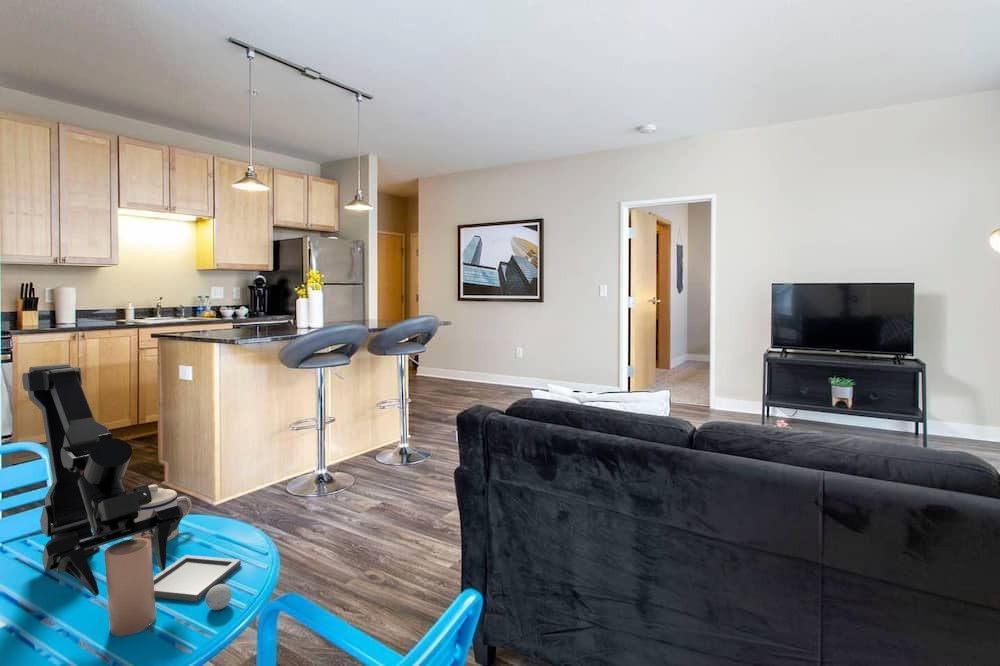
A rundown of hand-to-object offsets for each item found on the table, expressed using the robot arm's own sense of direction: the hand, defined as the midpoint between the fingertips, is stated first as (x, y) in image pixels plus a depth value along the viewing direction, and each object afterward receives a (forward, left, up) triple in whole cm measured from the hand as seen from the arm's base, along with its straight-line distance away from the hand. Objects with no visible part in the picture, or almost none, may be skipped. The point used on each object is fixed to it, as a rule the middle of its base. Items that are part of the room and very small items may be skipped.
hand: (131, 581), depth 86 cm
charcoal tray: (-1, +13, -7) cm, 15 cm away
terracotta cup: (-1, 0, -7) cm, 7 cm away
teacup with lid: (-20, +28, -8) cm, 35 cm away
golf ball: (+10, +6, -8) cm, 14 cm away
